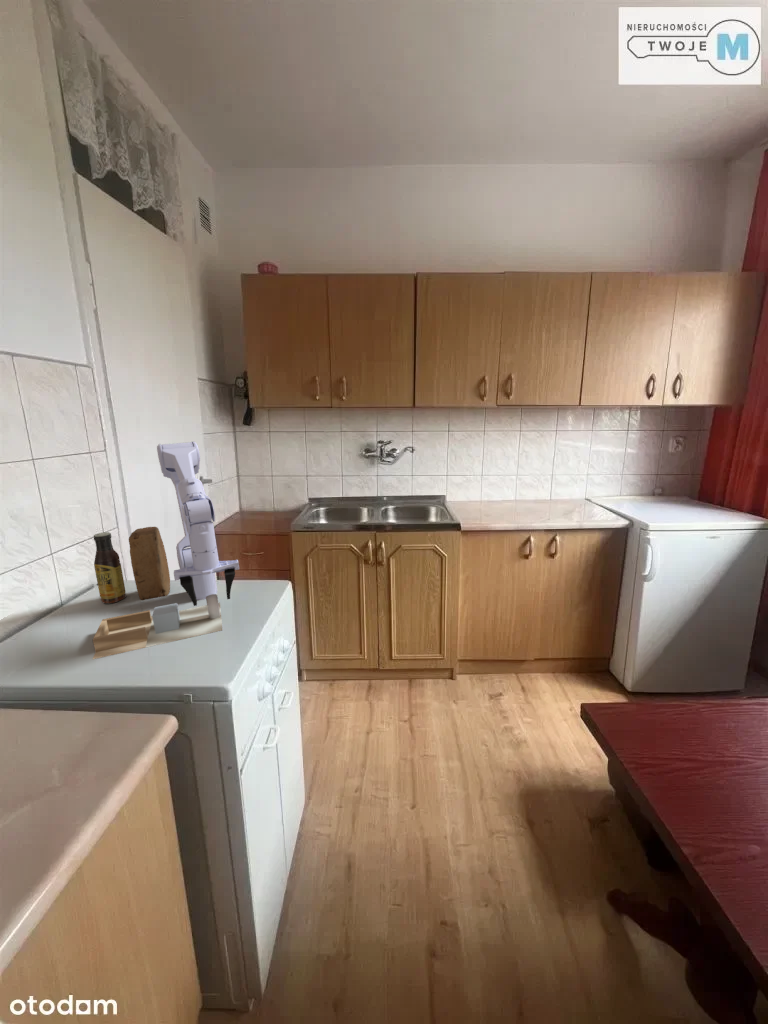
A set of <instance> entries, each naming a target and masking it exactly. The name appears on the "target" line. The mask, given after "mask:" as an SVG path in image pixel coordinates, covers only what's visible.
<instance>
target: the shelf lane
mask: <svg viewBox="0 0 768 1024" xmlns="http://www.w3.org/2000/svg"><path fill="white" fill-rule="evenodd" d="M218 604H219V610H220V617H219V618H217V619H210V618H206V619H201V620H197V621H192V622H187V623H182V624H180V626H179V629H176V630H171V631H166V632H162V633H157V634H156V633H155V628H154V623H153V618H152V614H151V610H150V609H149V610H144V611H143V610H142V611H139V612H134V613H129V614H124V615H119V616H113V617H109V618H103V619H102V620H101V622H100V623H99V626H98V628H97V630H96V632H95V634H94V635H93V639H92V642H93V646H94V651H95V652H94V655H93V657H92V660H95V659H96V660H97V659H101V658H106V657H110V656H114V655H118V654H123V653H127V652H133V651H137V650H141V649H145V648H151V647H154V646H159V645H163V644H168V643H173V642H176V641H181V640H182V641H183V640H186V639H190V638H194V637H199V636H203V635H207V634H213V633H218V632H221V631H223V620H222V619H223V618H222V610H221V608H222V607H221V602H218ZM207 614H209V613H208V607H207V604H206V605H201V606H194V607H190V608H186V609H180V610H179V615H180V620H183V619H188V618H193V617H198V616H203V615H207Z"/></svg>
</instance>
